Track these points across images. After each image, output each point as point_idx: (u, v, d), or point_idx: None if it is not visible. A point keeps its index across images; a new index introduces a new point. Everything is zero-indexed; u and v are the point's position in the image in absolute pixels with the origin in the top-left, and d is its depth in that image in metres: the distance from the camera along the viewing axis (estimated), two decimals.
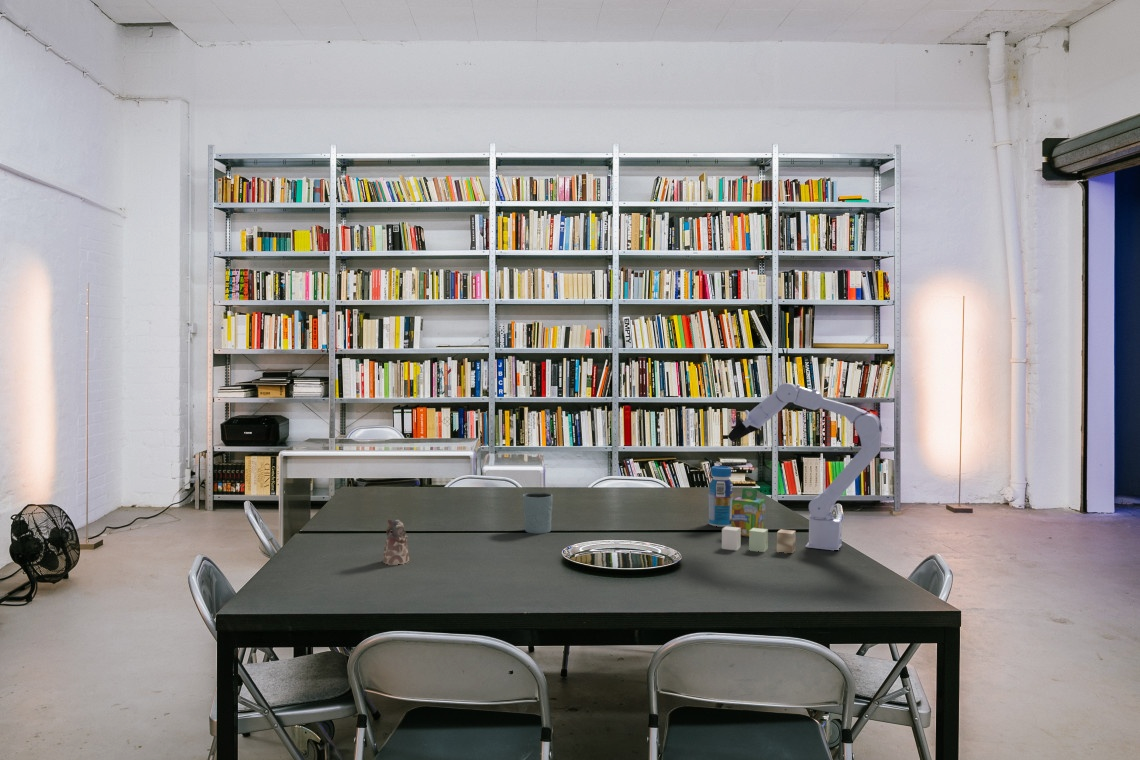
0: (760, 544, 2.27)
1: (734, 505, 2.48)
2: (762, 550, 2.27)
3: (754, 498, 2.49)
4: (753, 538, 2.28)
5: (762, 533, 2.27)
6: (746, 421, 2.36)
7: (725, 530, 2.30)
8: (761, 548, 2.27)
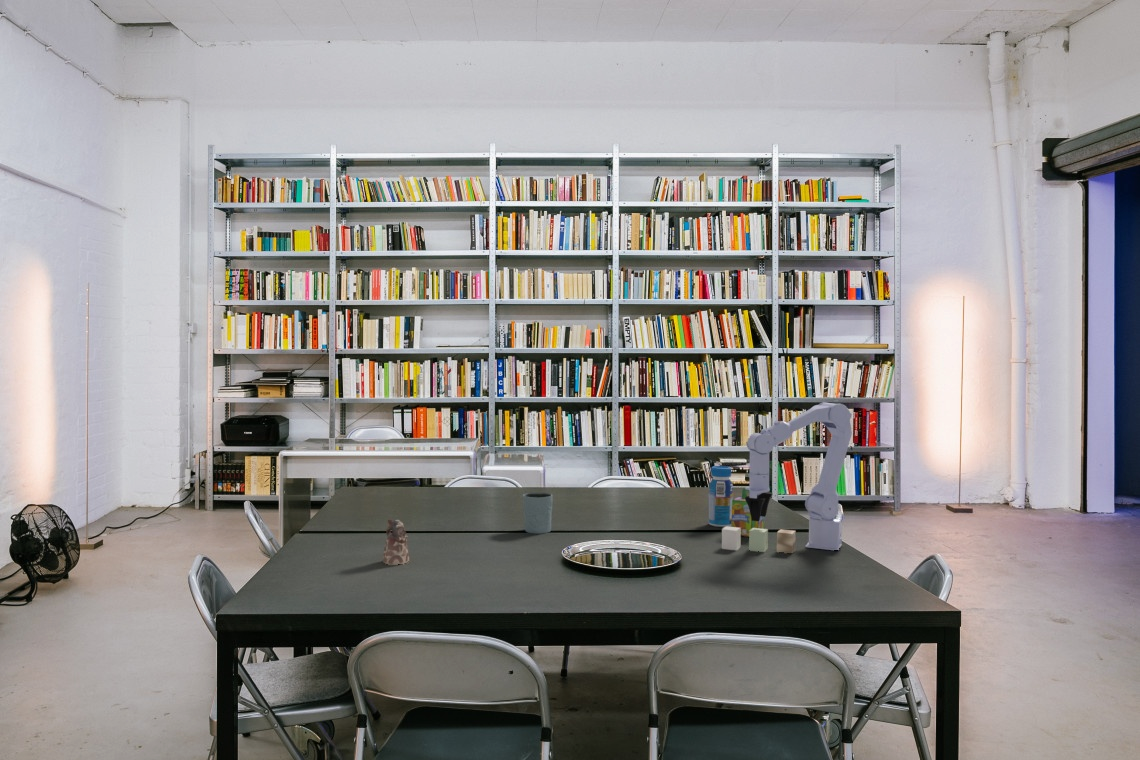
0: (760, 544, 2.27)
1: (734, 505, 2.48)
2: (762, 550, 2.27)
3: None
4: (753, 538, 2.28)
5: (762, 533, 2.27)
6: (751, 493, 2.23)
7: (725, 530, 2.30)
8: (761, 548, 2.27)
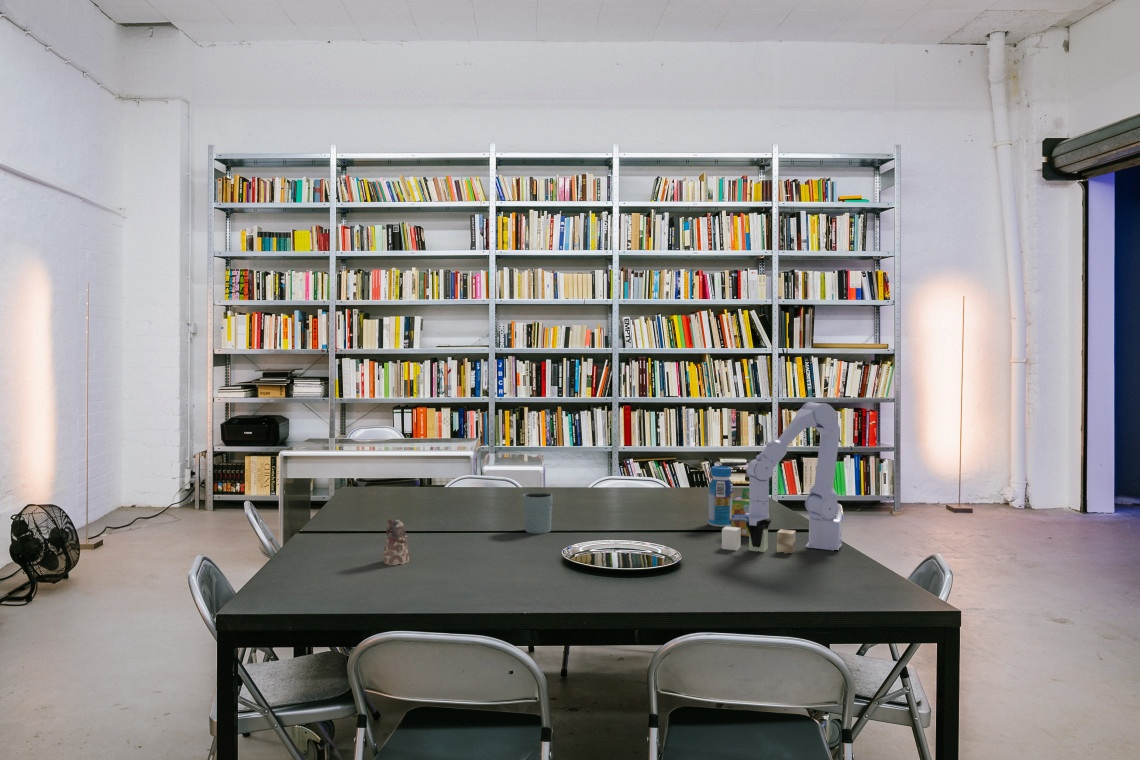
0: None
1: (734, 505, 2.48)
2: (762, 550, 2.27)
3: None
4: None
5: None
6: (751, 520, 2.23)
7: (725, 530, 2.30)
8: (761, 548, 2.27)
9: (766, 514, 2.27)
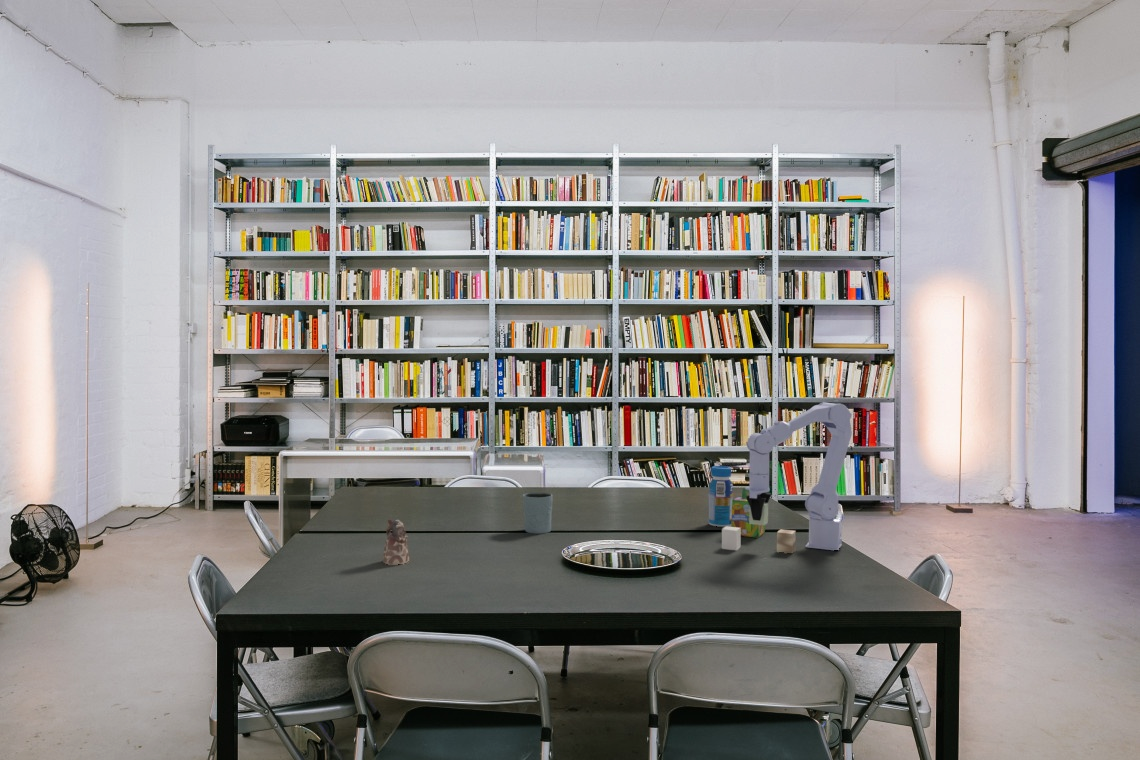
0: None
1: (734, 505, 2.48)
2: (762, 523, 2.27)
3: None
4: None
5: None
6: (751, 493, 2.23)
7: (725, 530, 2.30)
8: (761, 521, 2.27)
9: (766, 487, 2.27)
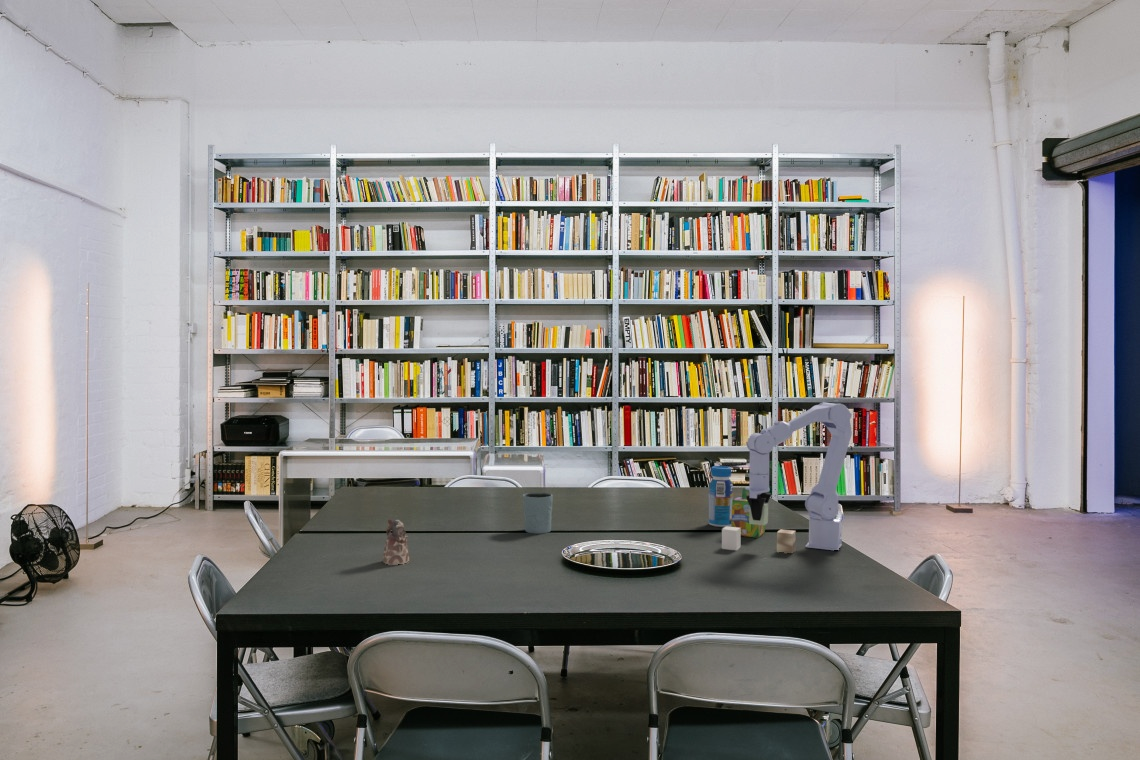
0: None
1: (734, 505, 2.48)
2: (762, 523, 2.27)
3: None
4: None
5: None
6: (751, 493, 2.23)
7: (725, 530, 2.30)
8: (761, 521, 2.27)
9: (766, 487, 2.27)
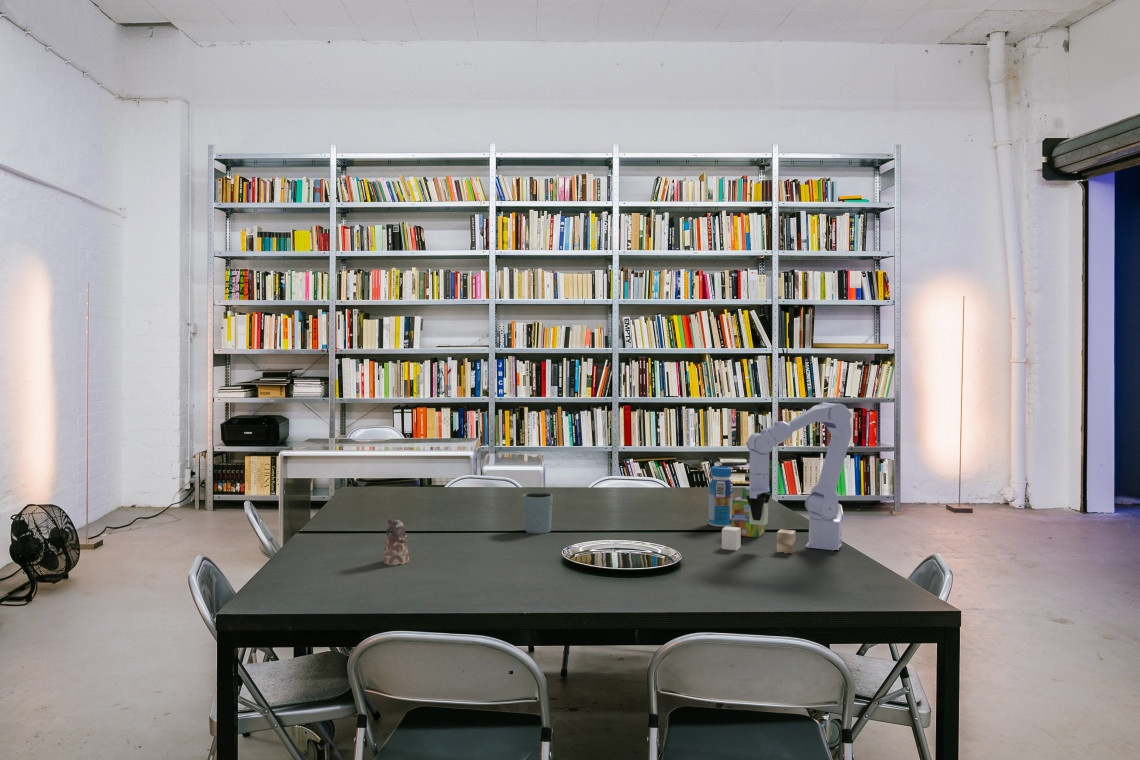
0: None
1: (734, 505, 2.48)
2: (762, 523, 2.27)
3: None
4: None
5: None
6: (751, 493, 2.23)
7: (725, 530, 2.30)
8: (761, 521, 2.27)
9: (766, 487, 2.27)
